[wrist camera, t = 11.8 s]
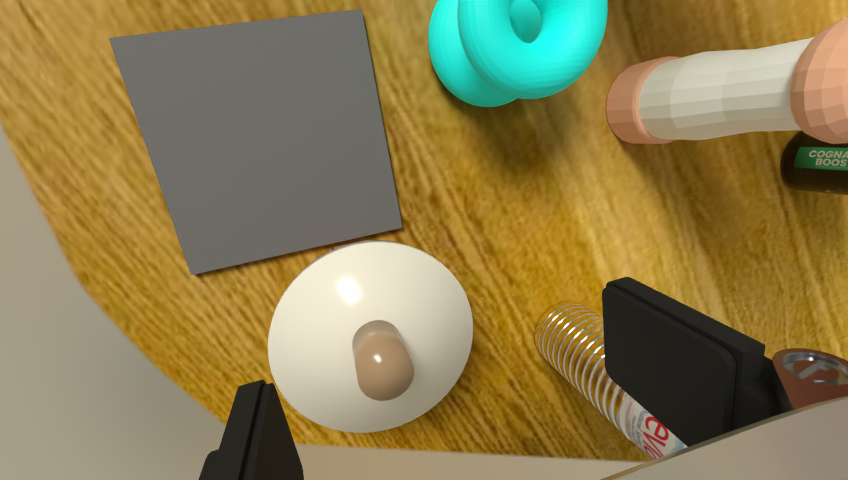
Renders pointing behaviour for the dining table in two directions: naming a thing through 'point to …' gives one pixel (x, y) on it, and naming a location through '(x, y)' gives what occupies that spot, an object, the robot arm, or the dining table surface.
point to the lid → (370, 336)
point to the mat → (263, 135)
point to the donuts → (513, 46)
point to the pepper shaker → (737, 92)
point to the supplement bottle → (815, 165)
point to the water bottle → (597, 375)
